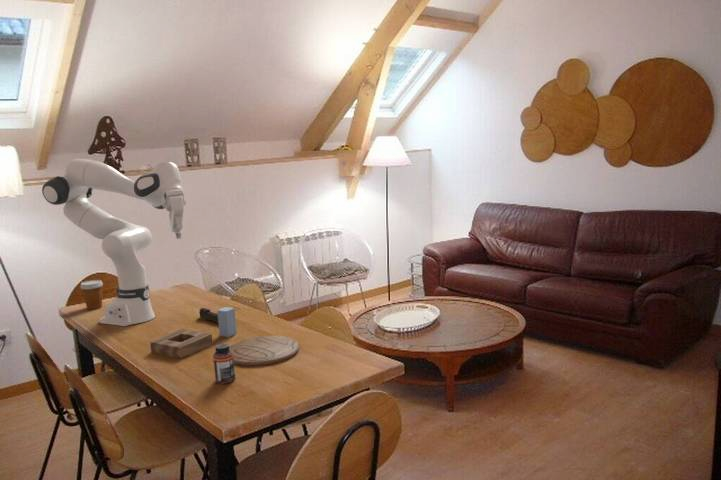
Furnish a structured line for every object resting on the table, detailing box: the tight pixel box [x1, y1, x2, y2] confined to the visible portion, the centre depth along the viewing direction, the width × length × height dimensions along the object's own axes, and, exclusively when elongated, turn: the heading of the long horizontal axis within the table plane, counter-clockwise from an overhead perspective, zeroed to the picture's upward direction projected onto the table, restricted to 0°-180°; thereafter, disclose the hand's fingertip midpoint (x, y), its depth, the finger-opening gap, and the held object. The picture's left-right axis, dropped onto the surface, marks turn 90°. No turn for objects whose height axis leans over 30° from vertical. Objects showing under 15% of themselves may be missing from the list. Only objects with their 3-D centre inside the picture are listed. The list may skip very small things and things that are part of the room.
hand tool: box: [198, 307, 218, 323], centre depth 242 cm, size 19×4×5 cm, turn 47°
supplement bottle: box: [212, 343, 236, 385], centre depth 181 cm, size 6×6×11 cm
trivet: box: [229, 335, 300, 367], centre depth 204 cm, size 25×25×2 cm
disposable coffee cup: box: [79, 279, 104, 311], centre depth 270 cm, size 10×10×12 cm
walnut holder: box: [149, 328, 214, 360], centre depth 211 cm, size 15×15×4 cm
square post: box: [216, 306, 238, 338], centre depth 224 cm, size 4×4×10 cm
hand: (179, 233), depth 223 cm, fingers open, 8 cm apart
